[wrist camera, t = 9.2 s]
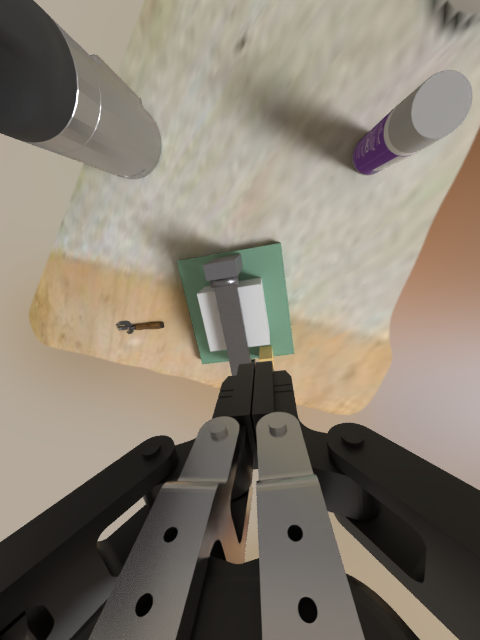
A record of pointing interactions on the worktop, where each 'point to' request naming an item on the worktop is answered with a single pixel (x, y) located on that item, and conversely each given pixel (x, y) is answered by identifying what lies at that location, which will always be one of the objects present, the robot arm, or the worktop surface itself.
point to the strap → (232, 321)
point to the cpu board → (251, 269)
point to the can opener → (139, 326)
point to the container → (415, 122)
